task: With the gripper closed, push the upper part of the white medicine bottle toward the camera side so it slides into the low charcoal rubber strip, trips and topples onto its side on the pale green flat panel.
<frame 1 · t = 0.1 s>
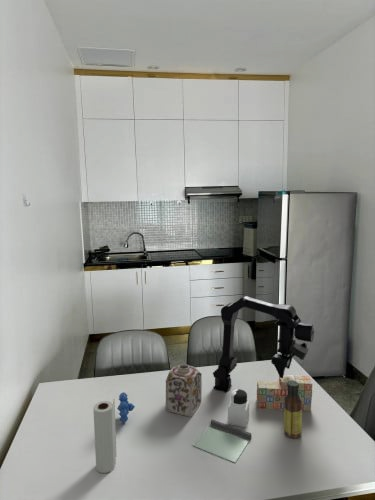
hand: (284, 373, 148), 15 cm above the table, fingers open, 9 cm apart
pale green flat panel: (221, 443, 127), on the table
paper towel roll: (107, 466, 117), on the table
decorative jar: (184, 407, 149), on the table
sauce bottle: (292, 434, 132), on the table
grapes: (126, 422, 140), on the table
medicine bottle: (238, 421, 140), on the table
stack of blocks: (283, 406, 150), on the table
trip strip: (230, 431, 134), on the table
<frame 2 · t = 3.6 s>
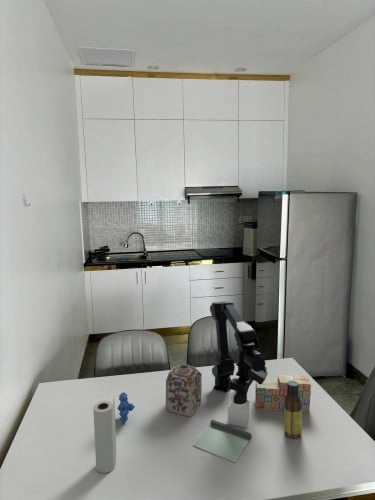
hand: (244, 397, 144), 7 cm above the table, fingers closed
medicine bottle: (238, 421, 140), on the table, touching gripper
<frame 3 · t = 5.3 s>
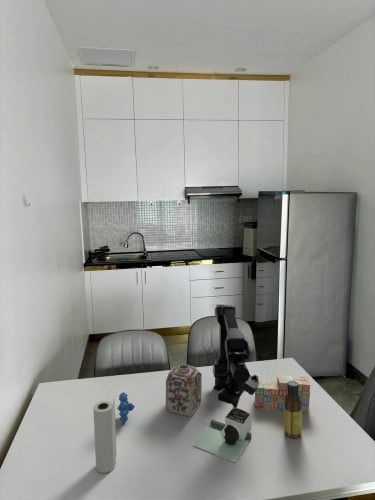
hand: (235, 407, 136), 7 cm above the table, fingers closed
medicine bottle: (242, 417, 135), point 5 cm above the table, touching gripper, pale green flat panel
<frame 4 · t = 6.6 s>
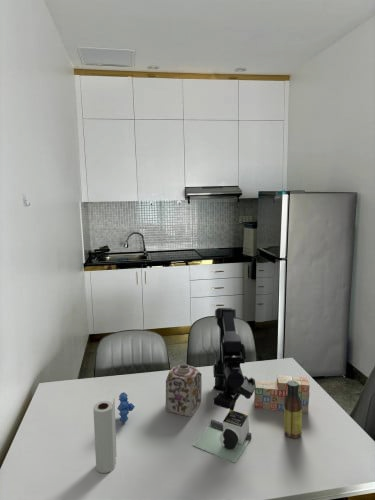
hand: (231, 410, 134), 8 cm above the table, fingers closed
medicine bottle: (240, 419, 133), point 5 cm above the table, touching gripper, pale green flat panel
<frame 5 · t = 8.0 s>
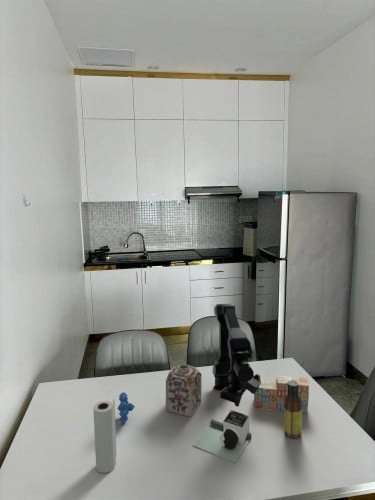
hand: (237, 406, 138), 7 cm above the table, fingers closed
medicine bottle: (240, 420, 133), point 5 cm above the table, touching pale green flat panel
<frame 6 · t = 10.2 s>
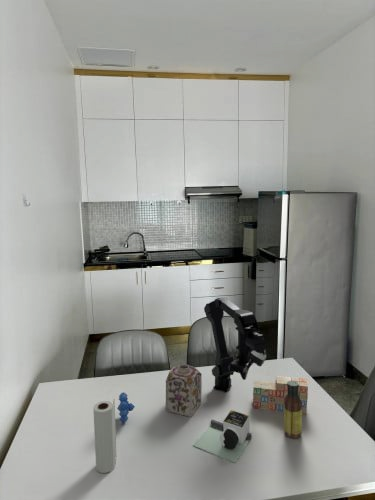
hand: (244, 379, 148), 12 cm above the table, fingers closed
at the end: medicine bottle tilted 97°; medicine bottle inside the target area (5.6 cm from its centre), point 4.7 cm above the table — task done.
